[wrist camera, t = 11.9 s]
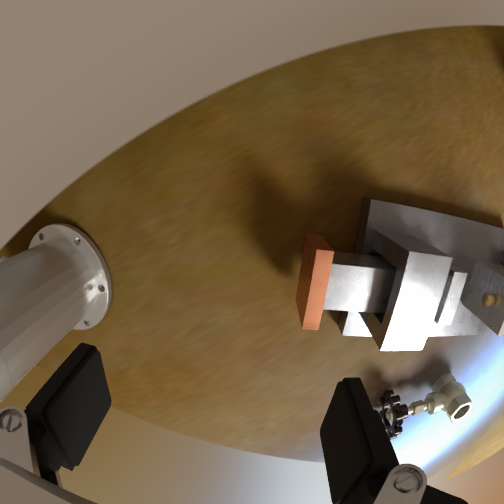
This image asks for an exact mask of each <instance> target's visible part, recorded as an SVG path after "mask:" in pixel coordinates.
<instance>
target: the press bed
mask: <svg viewBox="0 0 504 504" xmlns="http://www.w3.org/2000/svg"><path fill="white" fill-rule="evenodd" d="M354 254H362V255H371V256H379V257H384V258H385V259H387V260H388V261H389V262H390V263H391V264H393V265H394V266H395V267H396V268H397V271H396V275H395V279H394V283H393V287H392V291H391V295H390V298H389V302H388V305H387V309H386V312H385V313H374V312H356V311H341V315H340V319H339V323H338V326H339V329H340V331H341V334H342V335H344V336H372V337H373V338H374V340H375V342H376V344H377V346H378V347H379V349H380V351H406V350H422V349H423V347H424V344H425V342H426V339H427V337H430V336H459V335H477V334H483V333H484V331H485V328H486V326H487V325H486V324H485V323H483V322H482V321H481V320H480V319H479V318H478V317H477V316H475V315H474V314H473V313H472V312H471V311H469V310H468V309H467V308H466V307H465V306H464V305H462V304H463V301H464V298H465V295H466V291H467V288H468V285H469V282H470V278H471V275H472V271H473V267H474V264H475V261H480V262H487V263H493V264H500V265H503V266H504V228H502V227H498V226H494V225H491V224H487V223H483V222H480V221H476V220H472V219H468V218H464V217H460V216H455V215H451V214H447V213H443V212H438V211H434V210H429V209H424V208H420V207H415V206H410V205H405V204H400V203H395V202H390V201H384V200H379V199H373V198H367V197H364V198H363V205H362V211H361V218H360V224H359V230H358V235H357V241H356V246H355V252H354ZM451 263H452V264H453V265H455V266H457V267H458V268H460V269H462V270H463V271H465V272H466V273H468V274H467V277H466V281H465V284H464V287H463V290H462V294H461V297H460V300H459V303H458V306H457V309H456V311H455V314H454V317H453V320H452V322H451V324H448V325H438V324H437V323H436V322H435V321H434V318H435V315H436V312H437V309H438V306H439V303H440V300H441V297H442V294H443V290H444V287H445V284H446V280H447V277H448V273H449V269H450V266H451Z"/></svg>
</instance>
